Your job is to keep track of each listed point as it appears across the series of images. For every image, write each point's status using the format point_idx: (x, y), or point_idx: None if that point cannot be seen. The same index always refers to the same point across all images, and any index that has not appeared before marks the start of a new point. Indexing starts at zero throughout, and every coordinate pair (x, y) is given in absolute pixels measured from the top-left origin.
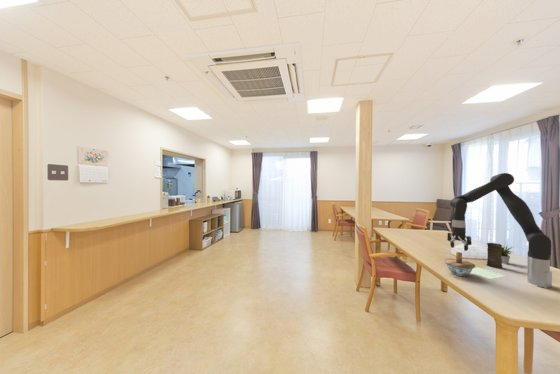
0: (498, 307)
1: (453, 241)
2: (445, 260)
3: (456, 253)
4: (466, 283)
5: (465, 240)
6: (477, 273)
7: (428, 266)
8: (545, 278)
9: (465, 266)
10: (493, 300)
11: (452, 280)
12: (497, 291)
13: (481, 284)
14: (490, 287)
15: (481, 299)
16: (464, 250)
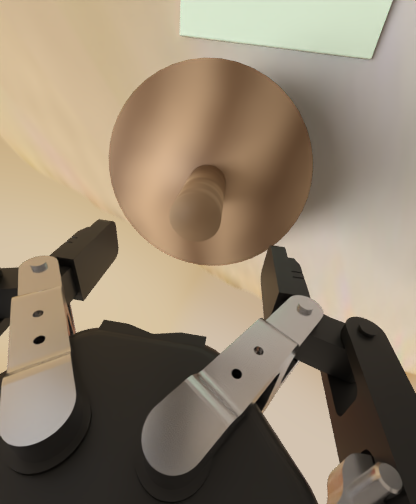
0: (409, 347)
1: (61, 278)
2: (139, 223)
3: (183, 234)
4: (288, 250)
5: (279, 374)
6: (277, 3)
7: (69, 187)
8: None
9: (272, 234)
10: (395, 317)
11: (239, 267)
12: (408, 225)
13: (338, 201)
14: (378, 203)
15: None
16: (262, 273)
